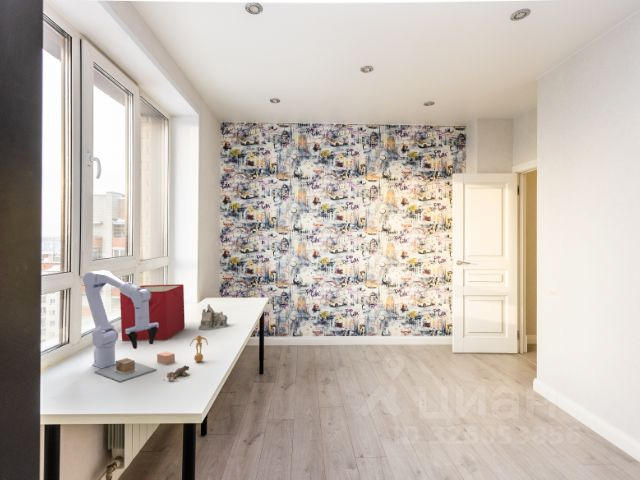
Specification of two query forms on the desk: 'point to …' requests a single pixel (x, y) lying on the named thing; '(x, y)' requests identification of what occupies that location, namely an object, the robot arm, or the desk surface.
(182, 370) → the frog figurine
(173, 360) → the terracotta block
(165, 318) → the storage cube
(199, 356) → the figurine
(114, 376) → the board
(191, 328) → the desk surface
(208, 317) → the stone castle ruin
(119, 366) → the walnut block
